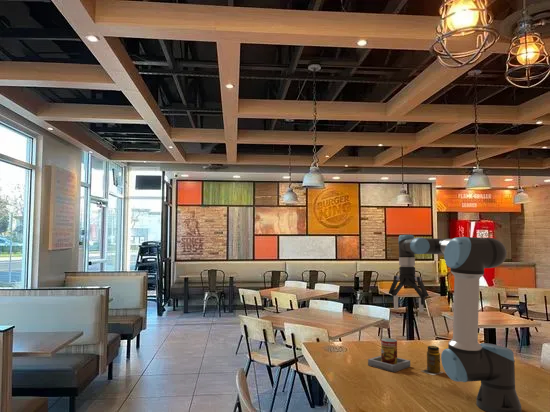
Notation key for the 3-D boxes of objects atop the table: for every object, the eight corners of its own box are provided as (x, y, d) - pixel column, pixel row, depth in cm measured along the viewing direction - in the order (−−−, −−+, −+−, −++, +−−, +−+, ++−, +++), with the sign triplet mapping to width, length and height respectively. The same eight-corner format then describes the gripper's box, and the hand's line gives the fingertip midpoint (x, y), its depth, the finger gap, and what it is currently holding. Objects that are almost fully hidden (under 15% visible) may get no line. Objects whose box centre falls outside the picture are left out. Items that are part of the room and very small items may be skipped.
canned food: (379, 364, 209) (379, 340, 210) (383, 361, 216) (383, 337, 217) (395, 367, 206) (395, 342, 207) (398, 363, 213) (398, 339, 214)
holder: (393, 372, 200) (393, 365, 201) (368, 365, 212) (368, 359, 212) (410, 366, 210) (410, 360, 211) (385, 360, 222) (385, 354, 222)
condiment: (444, 372, 201) (443, 347, 202) (433, 375, 197) (432, 349, 198) (431, 368, 207) (430, 344, 208) (420, 371, 203) (419, 346, 204)
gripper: (434, 266, 198) (436, 312, 195) (389, 265, 216) (390, 307, 213) (427, 266, 193) (428, 313, 190) (381, 265, 211) (382, 308, 208)
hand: (408, 310), depth 202 cm, fingers open, 13 cm apart
